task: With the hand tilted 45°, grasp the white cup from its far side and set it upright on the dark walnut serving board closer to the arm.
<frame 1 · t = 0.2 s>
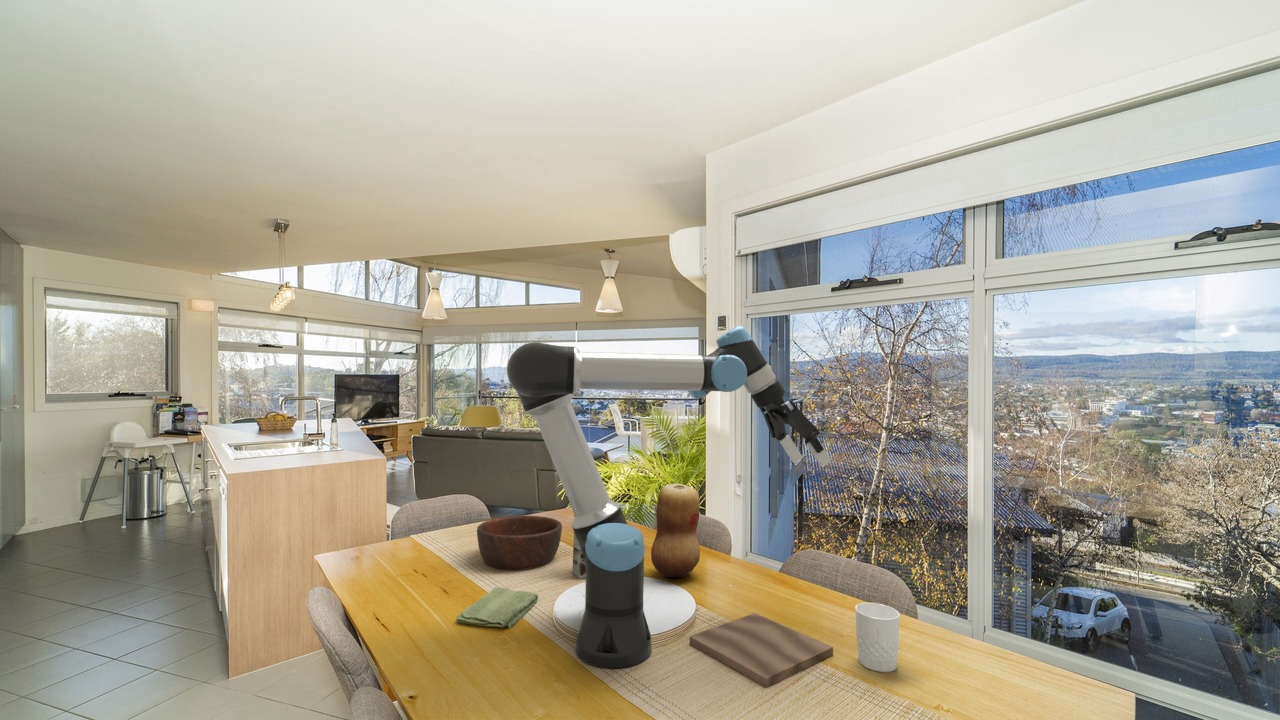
hand: (811, 462, 130), 35 cm above the table, tool tilted 35°, fingers open, 13 cm apart
white cup: (877, 664, 106), on the table
butternut squash: (675, 576, 153), on the table
walnut board: (760, 649, 111), on the table
washcloth: (500, 615, 127), on the table
wooden bowl: (519, 560, 165), on the table
coffee box: (591, 574, 154), on the table
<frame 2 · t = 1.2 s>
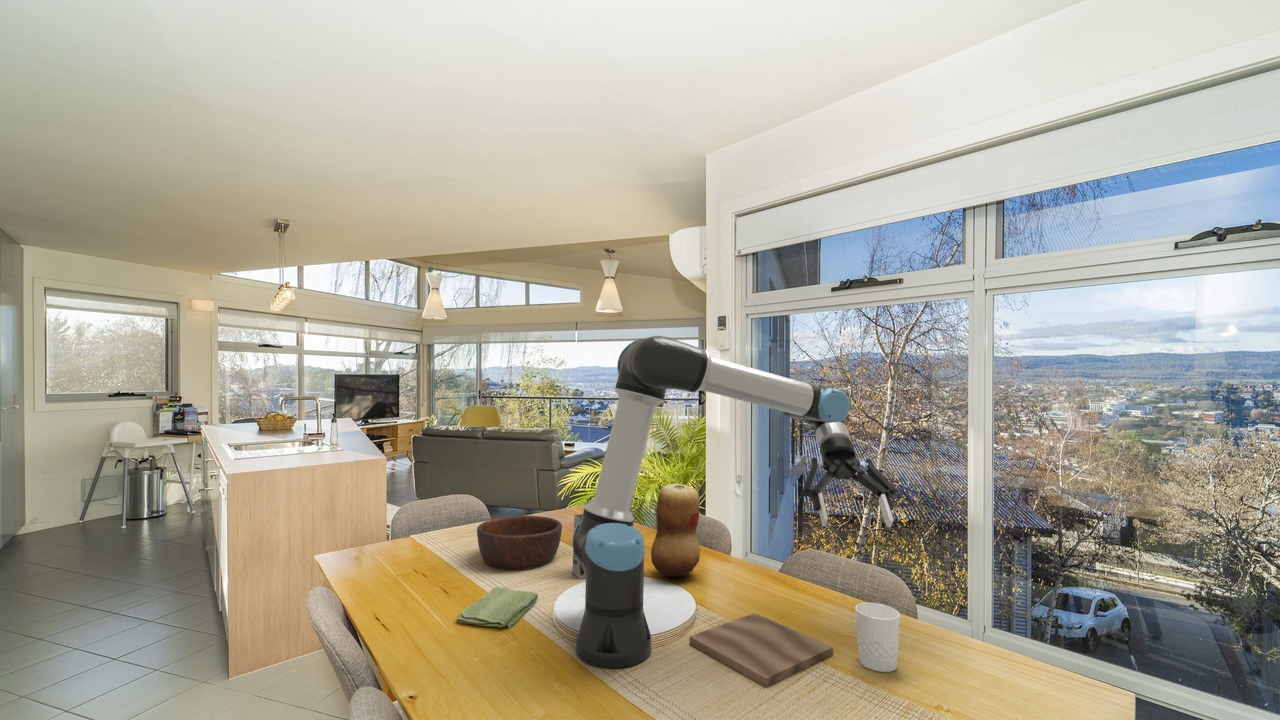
hand: (857, 523, 117), 24 cm above the table, tool tilted 45°, fingers open, 13 cm apart
nothing on the table moved.
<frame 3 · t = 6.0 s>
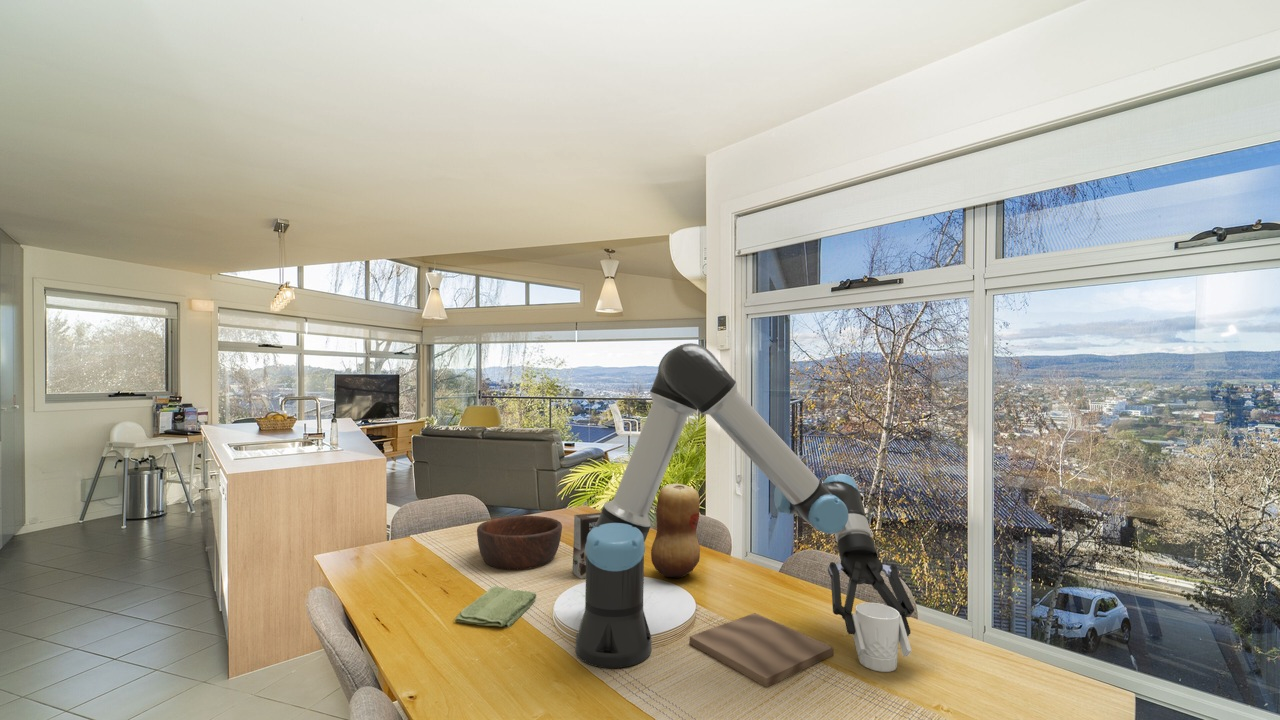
hand: (884, 652, 102), 4 cm above the table, tool tilted 45°, fingers closed on white cup, 8 cm apart
white cup: (877, 664, 106), on the table, touching gripper
everything else where it was.
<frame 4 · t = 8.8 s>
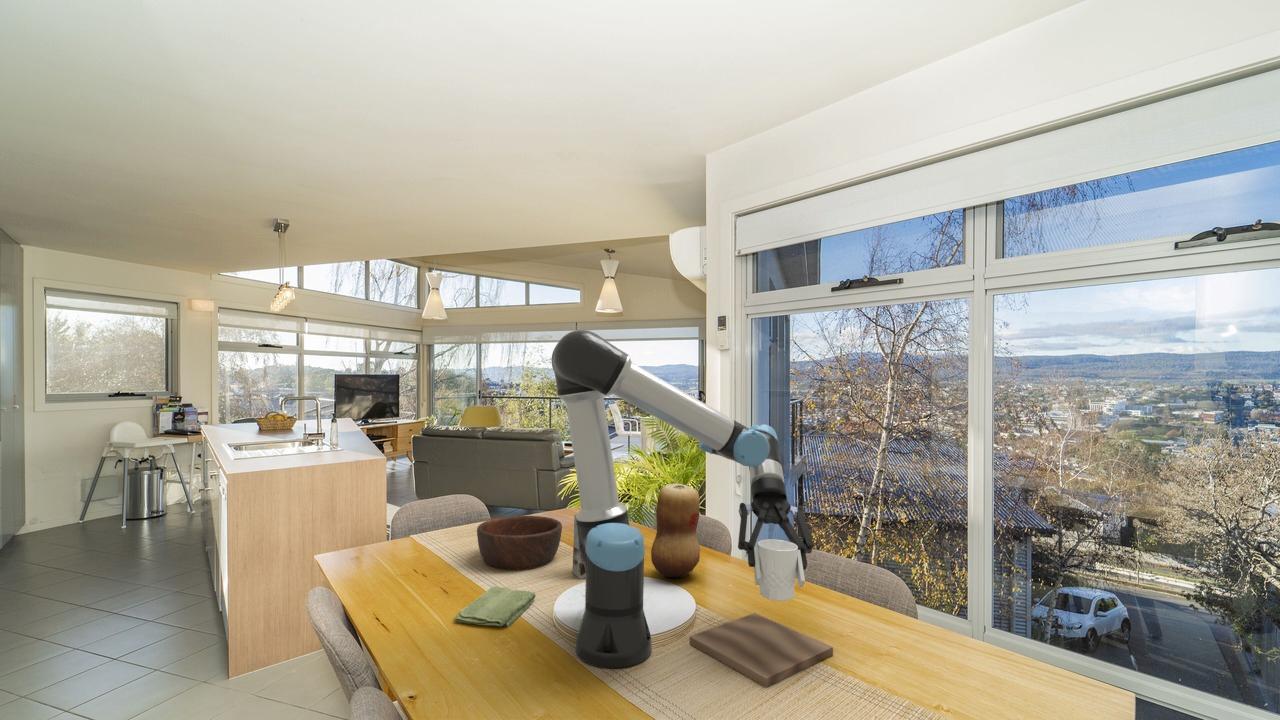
hand: (780, 582, 107), 15 cm above the table, tool tilted 45°, fingers closed on white cup, 8 cm apart
white cup: (776, 596, 111), point 11 cm above the table, touching gripper
everything else where it was.
when the fingers open (7 cm above the table, at t = 11.5 s): white cup drops 1 cm, resting on walnut board.
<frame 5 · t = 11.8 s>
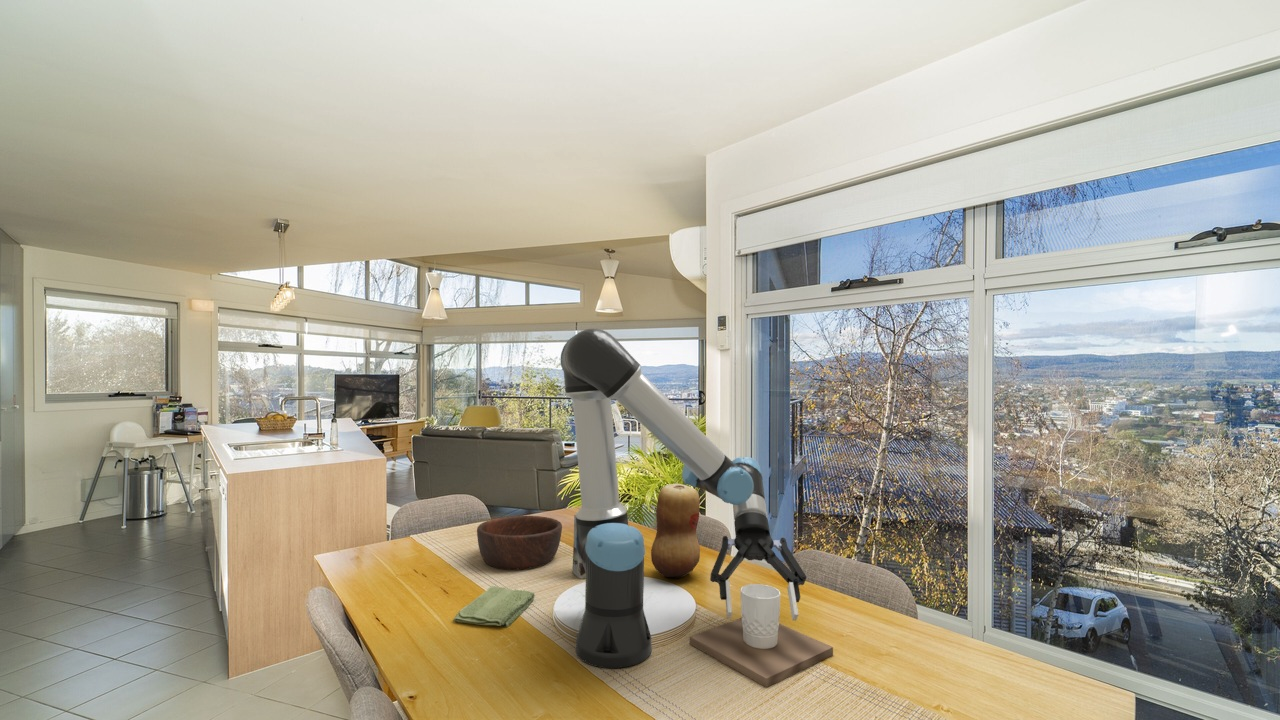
hand: (762, 616, 108), 7 cm above the table, tool tilted 45°, fingers open, 12 cm apart
white cup: (760, 642, 111), point 1 cm above the table, touching walnut board
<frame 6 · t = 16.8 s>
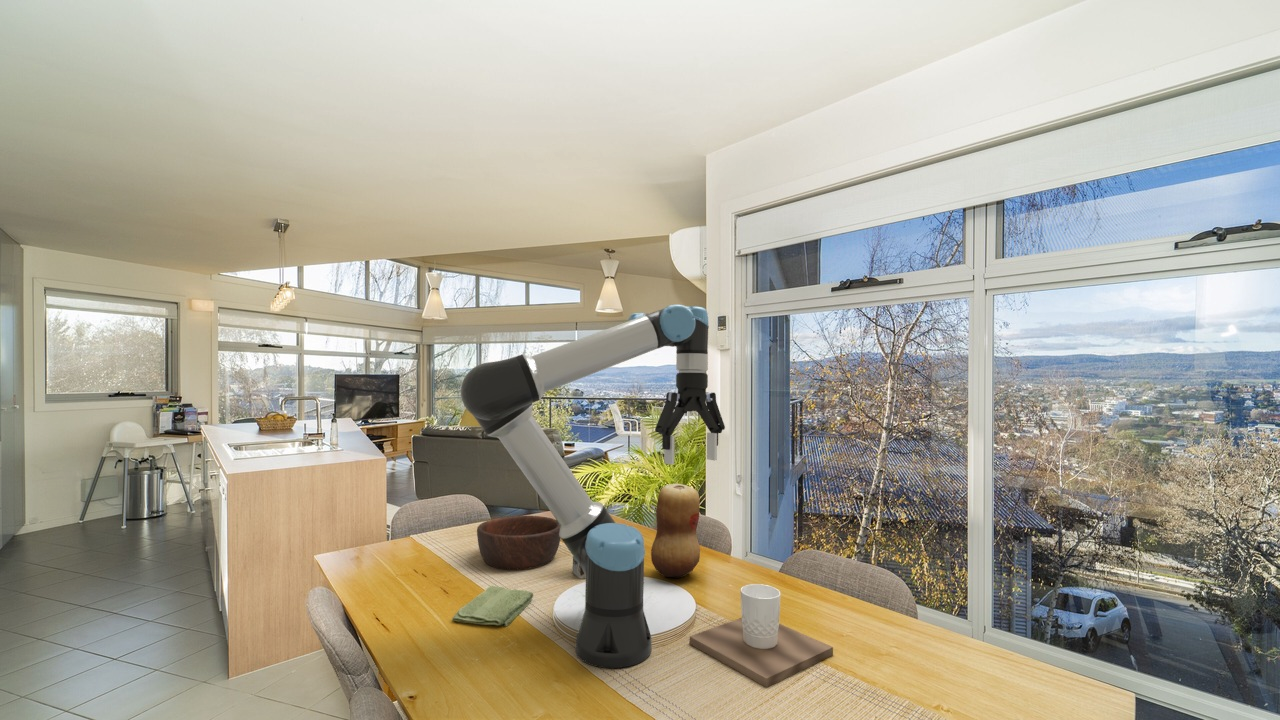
hand: (691, 461, 130), 35 cm above the table, tool pointing down, fingers open, 13 cm apart
at the end: white cup inside the target area on the walnut board (0.1 cm from its centre), point 1.3 cm above the walnut board's base; white cup tilted 0°; the gripper is holding nothing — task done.
